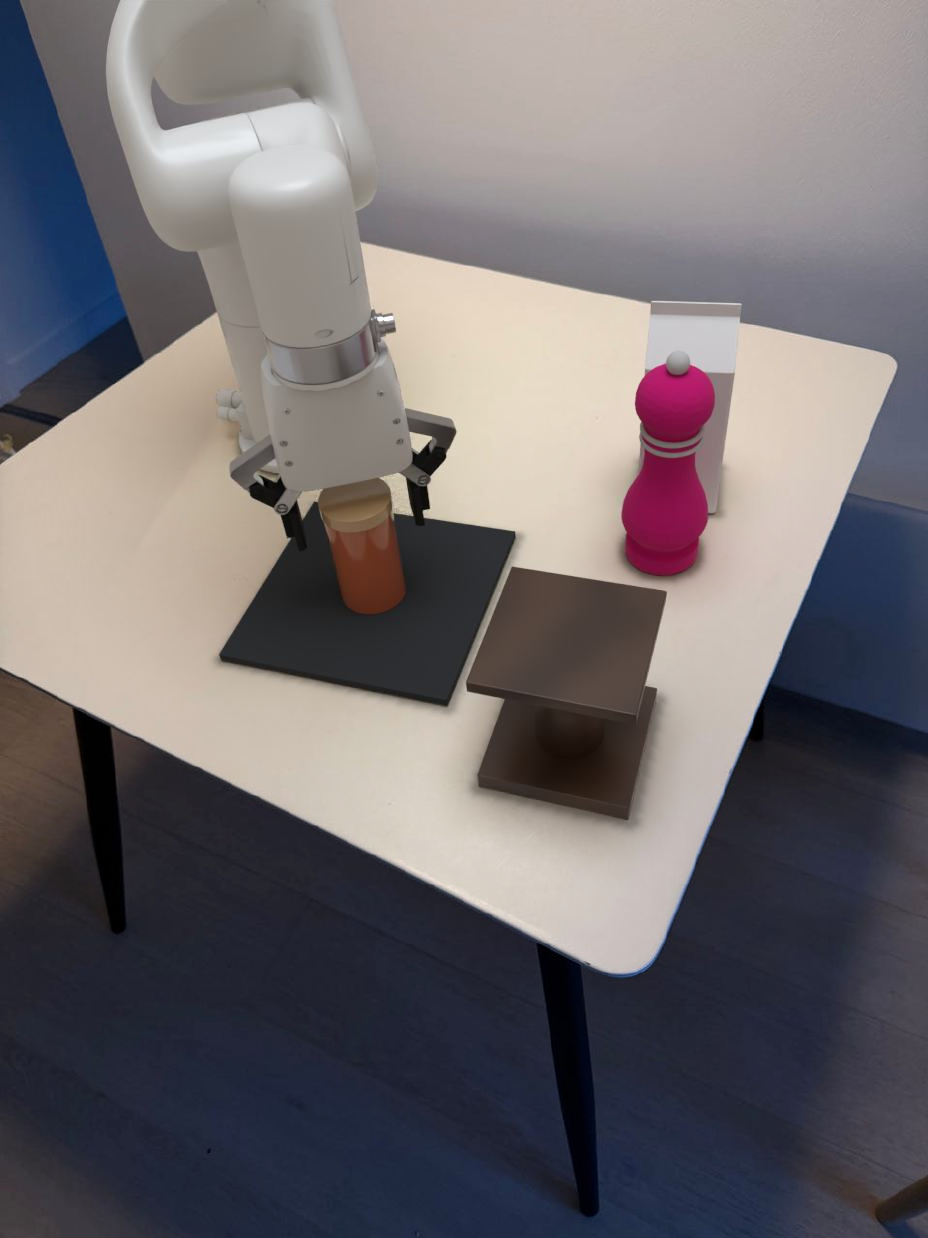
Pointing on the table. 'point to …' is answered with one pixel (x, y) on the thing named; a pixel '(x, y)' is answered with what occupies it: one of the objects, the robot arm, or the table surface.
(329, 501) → the spice jar
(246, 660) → the mat
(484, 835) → the table surface
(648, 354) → the milk carton
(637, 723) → the stand
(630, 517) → the pepper mill
